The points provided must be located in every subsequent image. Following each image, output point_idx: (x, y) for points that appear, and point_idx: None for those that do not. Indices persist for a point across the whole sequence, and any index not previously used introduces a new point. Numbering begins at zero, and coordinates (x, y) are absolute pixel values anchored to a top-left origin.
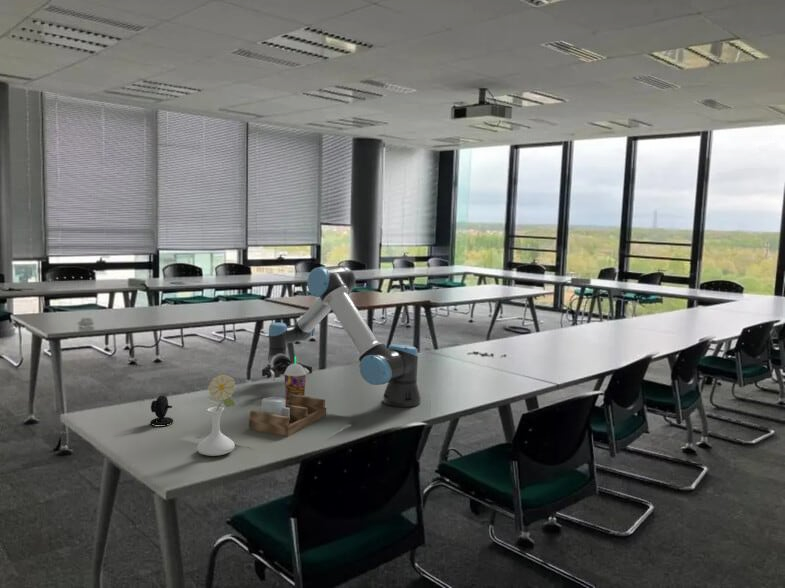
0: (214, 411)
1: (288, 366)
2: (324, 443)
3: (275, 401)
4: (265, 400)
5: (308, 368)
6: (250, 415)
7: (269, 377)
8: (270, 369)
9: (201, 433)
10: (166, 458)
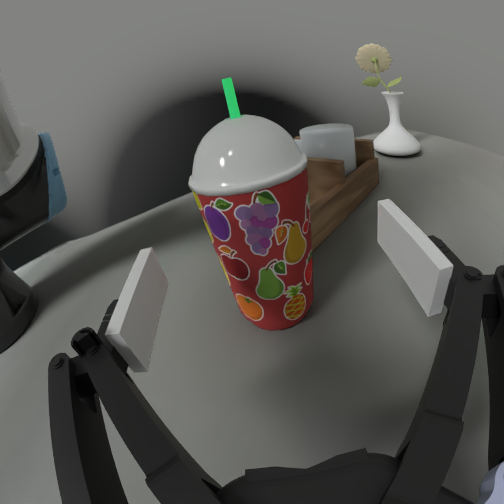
0: (396, 98)
1: (277, 124)
2: None
3: (320, 127)
4: (343, 126)
5: (79, 369)
6: (373, 148)
7: (444, 320)
8: (462, 292)
9: (458, 180)
10: (443, 147)
